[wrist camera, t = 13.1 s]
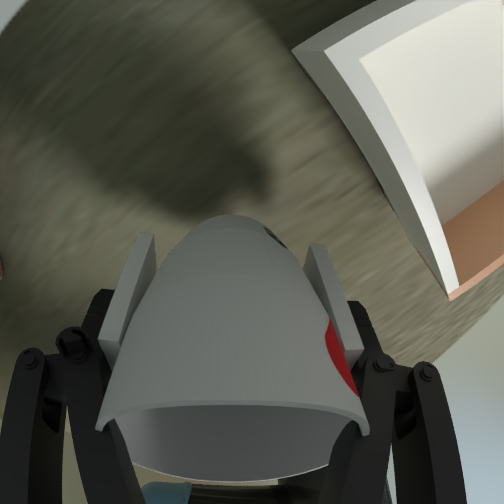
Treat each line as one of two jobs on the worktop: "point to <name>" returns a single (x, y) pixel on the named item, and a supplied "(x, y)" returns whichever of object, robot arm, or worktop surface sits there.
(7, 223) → the worktop surface
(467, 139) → the white open box
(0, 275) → the sauce bottle
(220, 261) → the cup
